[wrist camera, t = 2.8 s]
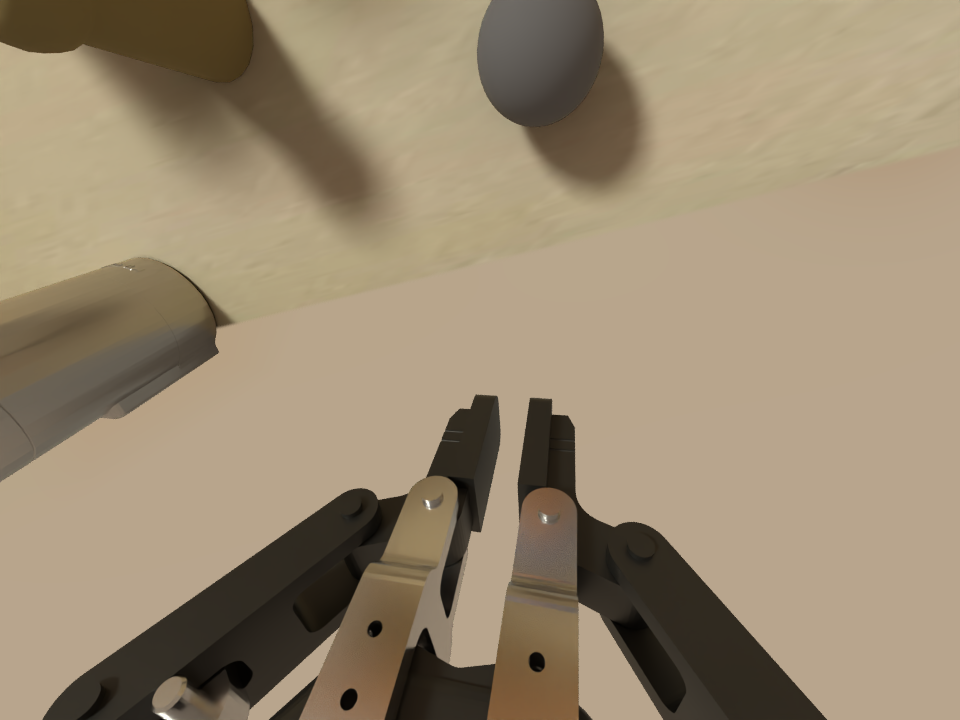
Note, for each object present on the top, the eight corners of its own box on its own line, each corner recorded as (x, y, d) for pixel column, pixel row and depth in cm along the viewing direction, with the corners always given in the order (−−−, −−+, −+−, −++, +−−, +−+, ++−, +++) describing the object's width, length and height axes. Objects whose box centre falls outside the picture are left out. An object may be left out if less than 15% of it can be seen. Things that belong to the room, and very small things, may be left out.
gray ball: (595, 120, 20) (602, 121, 16) (492, 130, 21) (471, 134, 17) (604, -24, 17) (616, -75, 13) (485, -3, 18) (456, -43, 14)
